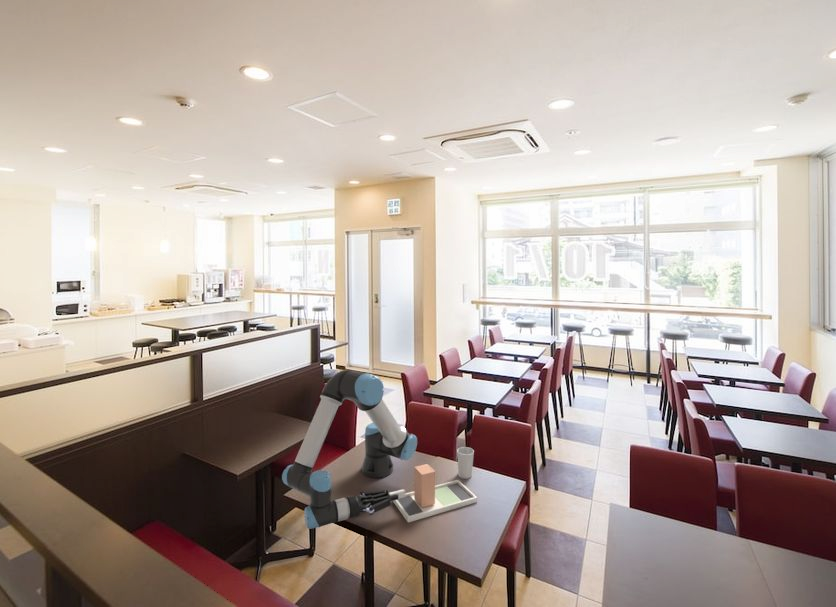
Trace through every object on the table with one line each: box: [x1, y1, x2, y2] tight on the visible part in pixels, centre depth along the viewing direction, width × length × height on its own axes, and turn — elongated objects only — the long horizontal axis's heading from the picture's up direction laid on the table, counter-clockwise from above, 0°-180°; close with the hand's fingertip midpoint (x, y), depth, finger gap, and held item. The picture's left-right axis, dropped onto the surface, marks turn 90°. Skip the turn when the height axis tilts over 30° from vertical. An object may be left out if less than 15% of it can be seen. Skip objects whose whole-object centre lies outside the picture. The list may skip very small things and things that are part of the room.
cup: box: [456, 446, 475, 479], centre depth 192 cm, size 8×8×12 cm
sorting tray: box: [392, 479, 478, 523], centre depth 171 cm, size 16×32×2 cm, turn 116°
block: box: [413, 463, 436, 507], centre depth 168 cm, size 7×6×14 cm
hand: (404, 493), depth 163 cm, fingers closed
